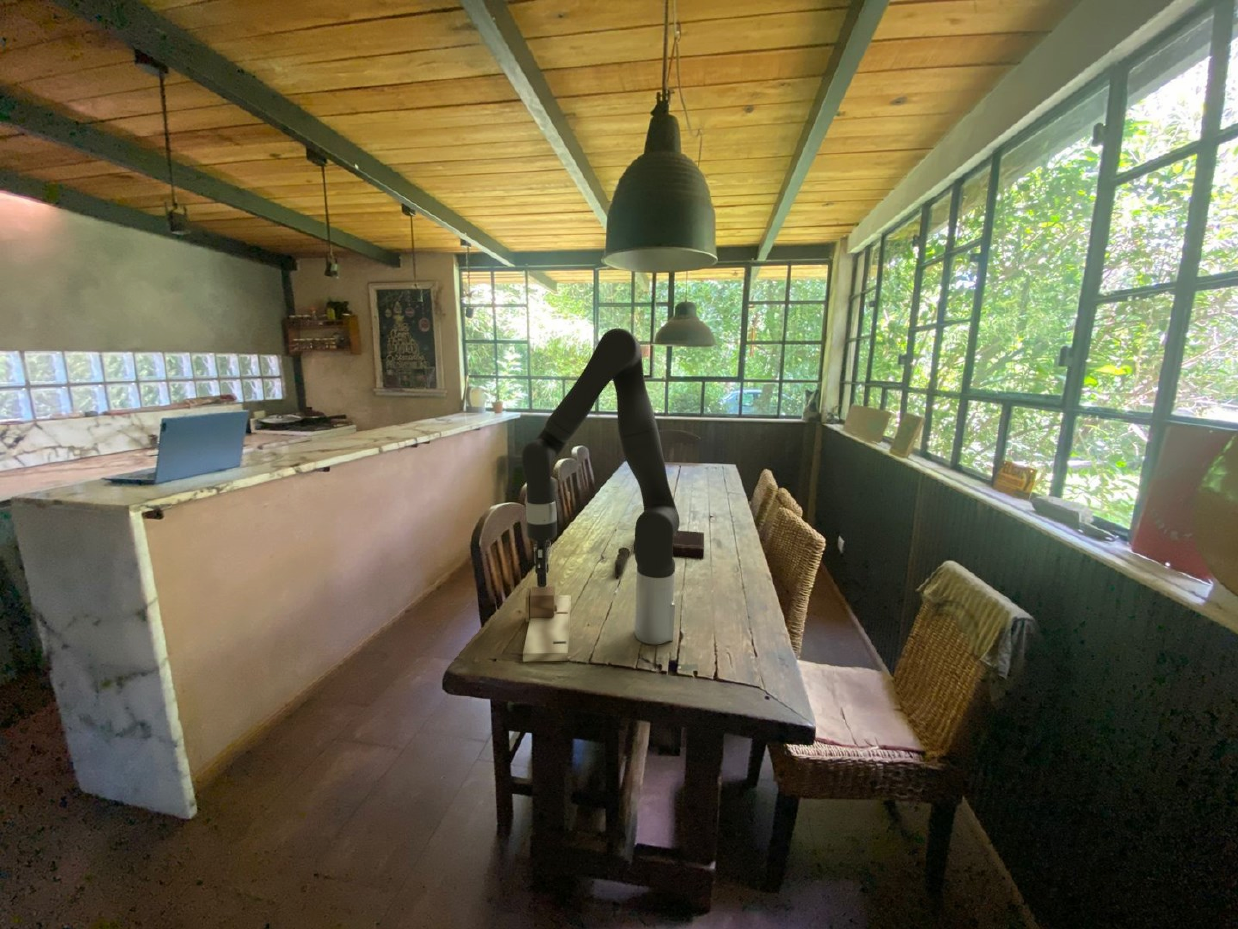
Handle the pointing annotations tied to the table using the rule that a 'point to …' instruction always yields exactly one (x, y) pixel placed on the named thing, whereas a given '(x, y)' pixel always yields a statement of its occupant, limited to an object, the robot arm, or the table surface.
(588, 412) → the robot arm
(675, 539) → the diary
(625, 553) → the hand tool
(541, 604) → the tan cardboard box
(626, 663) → the table surface
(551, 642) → the board
